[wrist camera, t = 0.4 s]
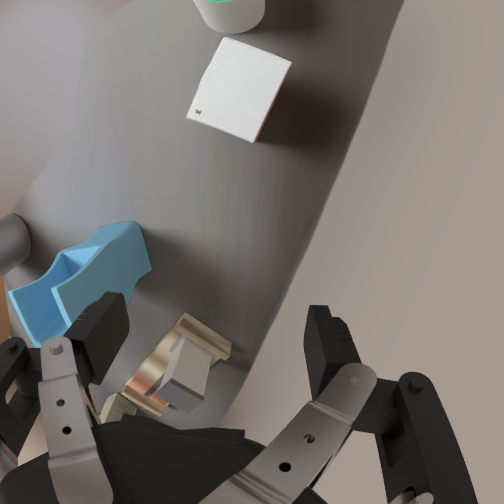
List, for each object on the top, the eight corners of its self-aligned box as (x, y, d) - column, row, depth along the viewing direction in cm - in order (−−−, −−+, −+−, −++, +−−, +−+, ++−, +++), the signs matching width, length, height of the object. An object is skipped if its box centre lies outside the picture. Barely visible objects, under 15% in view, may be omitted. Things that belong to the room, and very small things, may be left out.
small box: (256, 142, 35) (253, 146, 23) (209, 123, 34) (183, 118, 22) (283, 86, 32) (293, 61, 20) (235, 67, 32) (222, 34, 19)
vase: (138, 219, 39) (56, 287, 21) (152, 270, 42) (90, 360, 24) (94, 227, 40) (7, 291, 22) (109, 275, 43) (38, 354, 24)
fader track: (163, 404, 54) (160, 416, 51) (126, 381, 52) (121, 393, 49) (231, 342, 47) (229, 356, 43) (185, 311, 45) (180, 324, 42)
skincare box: (107, 396, 55) (88, 436, 44) (117, 391, 54) (97, 433, 43) (128, 412, 57) (113, 453, 45) (139, 408, 56) (123, 451, 44)
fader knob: (200, 365, 47) (188, 415, 37) (170, 347, 45) (152, 395, 35) (217, 349, 45) (207, 401, 35) (185, 329, 44) (168, 379, 34)
